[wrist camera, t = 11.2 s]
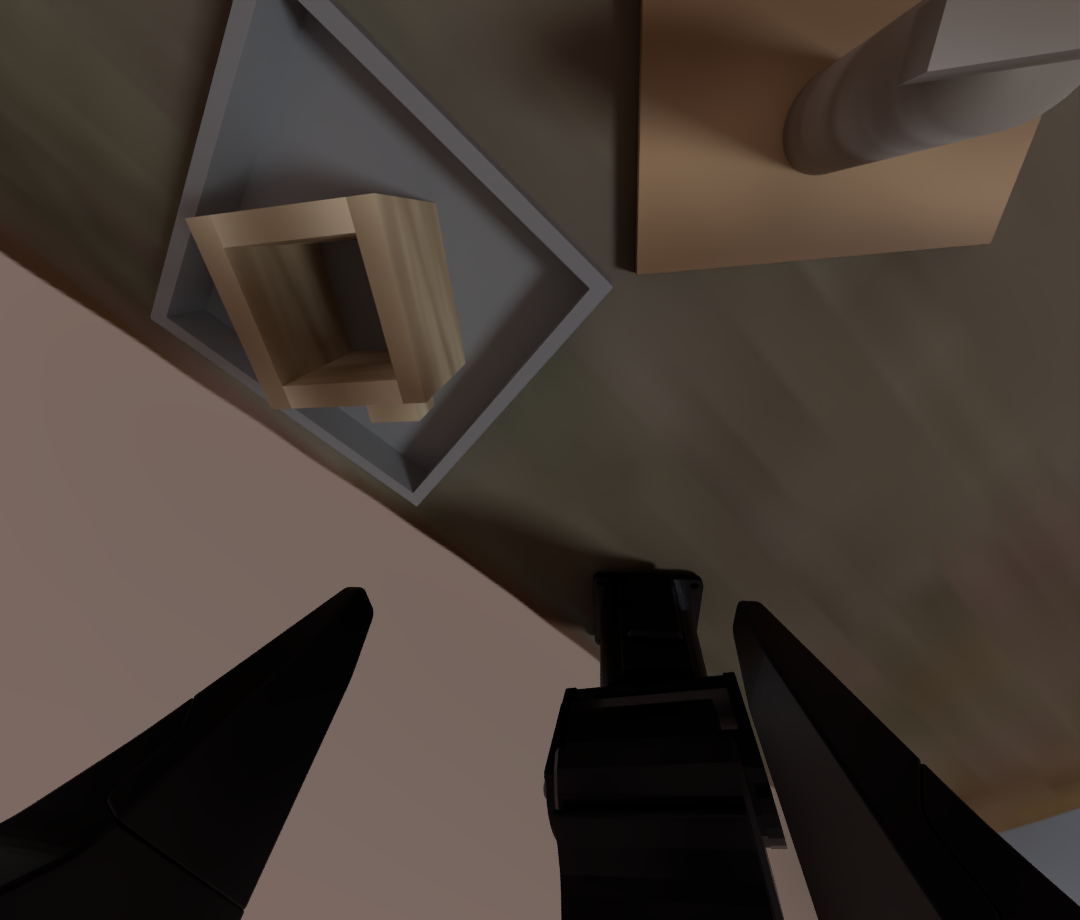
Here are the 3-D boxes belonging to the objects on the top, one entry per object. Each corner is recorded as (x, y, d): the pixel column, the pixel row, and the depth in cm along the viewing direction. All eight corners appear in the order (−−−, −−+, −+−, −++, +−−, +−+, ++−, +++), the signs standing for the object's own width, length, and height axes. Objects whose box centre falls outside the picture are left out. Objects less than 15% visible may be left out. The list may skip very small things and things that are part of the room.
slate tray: (611, 279, 17) (613, 287, 15) (433, 480, 23) (416, 506, 21) (308, -27, 13) (253, -76, 11) (198, 308, 20) (150, 318, 18)
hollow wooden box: (435, 202, 16) (374, 193, 11) (473, 403, 20) (438, 450, 16) (291, 221, 17) (184, 218, 12) (355, 407, 21) (291, 454, 17)
